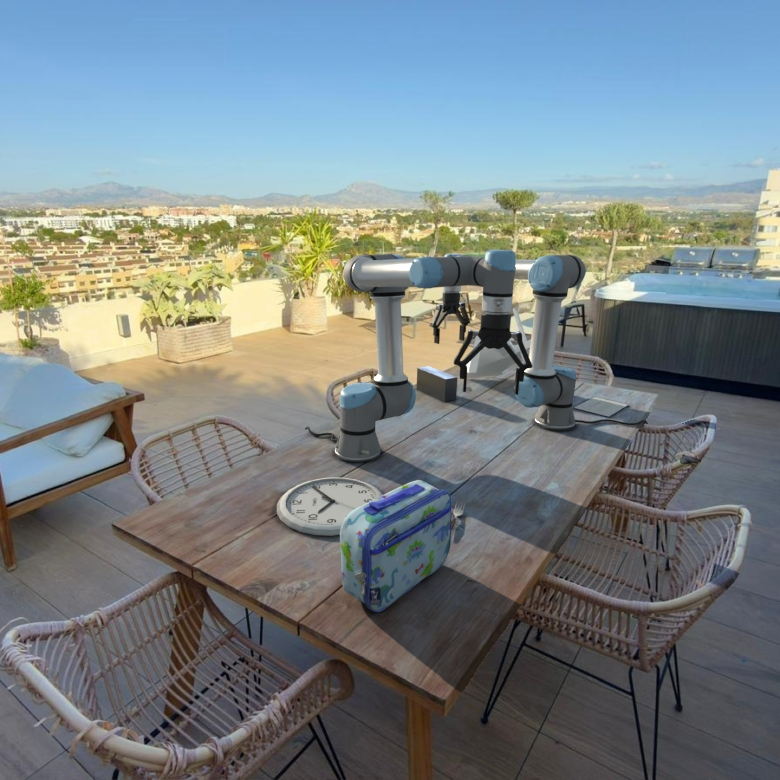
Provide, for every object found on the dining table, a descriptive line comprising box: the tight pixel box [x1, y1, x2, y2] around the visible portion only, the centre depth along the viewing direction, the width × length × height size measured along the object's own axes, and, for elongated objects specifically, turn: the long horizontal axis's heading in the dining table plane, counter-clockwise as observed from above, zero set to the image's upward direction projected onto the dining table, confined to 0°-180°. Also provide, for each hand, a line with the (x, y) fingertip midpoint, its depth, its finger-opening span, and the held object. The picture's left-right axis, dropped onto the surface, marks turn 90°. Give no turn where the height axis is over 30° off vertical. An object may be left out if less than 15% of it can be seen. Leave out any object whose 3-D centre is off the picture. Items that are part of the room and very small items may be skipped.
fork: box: [451, 500, 466, 531], centre depth 135 cm, size 3×16×2 cm, turn 160°
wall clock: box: [276, 476, 385, 537], centre depth 142 cm, size 30×2×30 cm
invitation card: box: [573, 396, 629, 418], centre depth 226 cm, size 21×1×15 cm
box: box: [416, 365, 459, 403], centre depth 238 cm, size 22×7×10 cm, turn 32°
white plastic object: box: [466, 307, 531, 380], centre depth 256 cm, size 37×45×31 cm
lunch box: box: [339, 479, 452, 613], centre depth 109 cm, size 26×11×21 cm, turn 134°
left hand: (490, 391), depth 140 cm, fingers open, 13 cm apart
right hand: (449, 341), depth 225 cm, fingers open, 13 cm apart
